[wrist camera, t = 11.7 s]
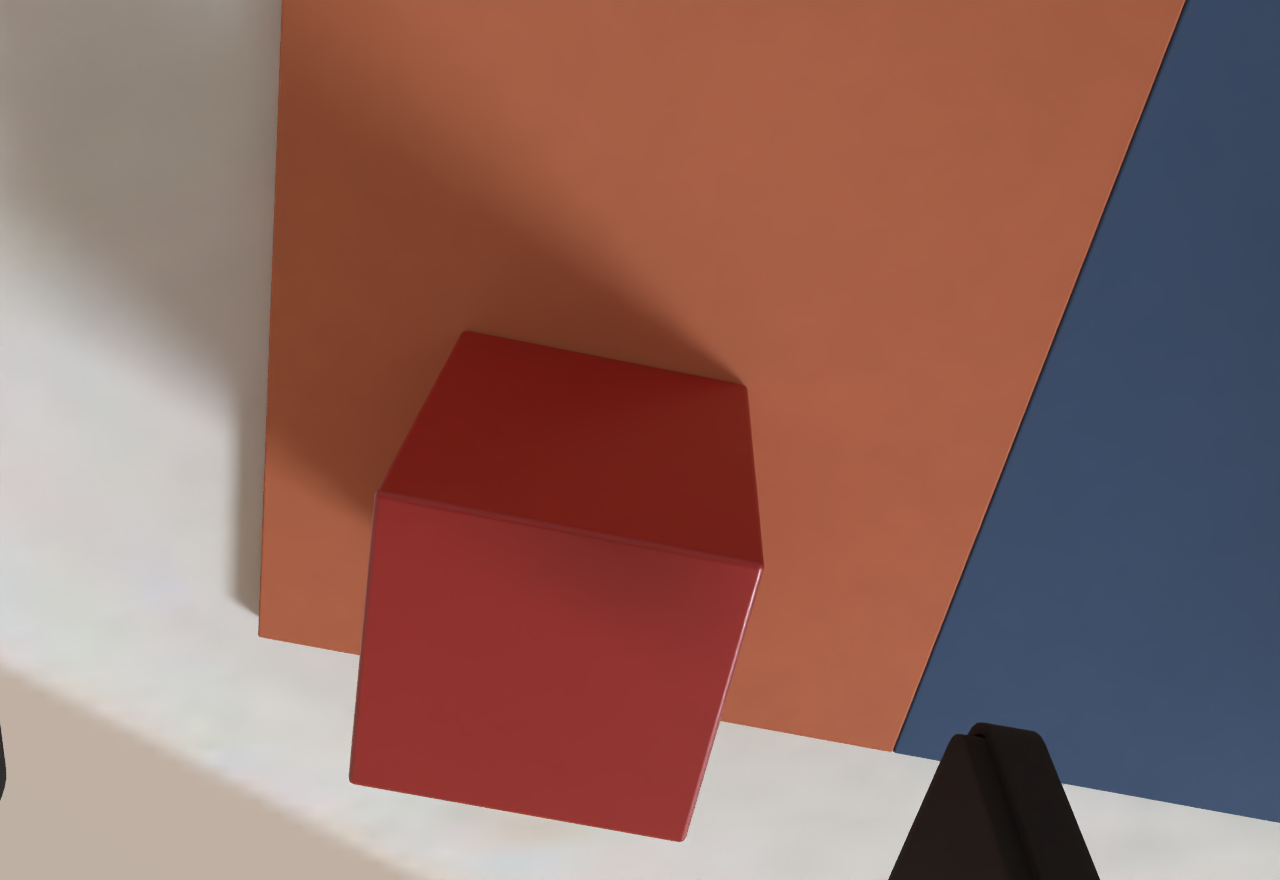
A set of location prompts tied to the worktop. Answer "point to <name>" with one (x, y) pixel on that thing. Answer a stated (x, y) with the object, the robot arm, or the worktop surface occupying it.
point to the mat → (839, 333)
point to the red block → (558, 588)
